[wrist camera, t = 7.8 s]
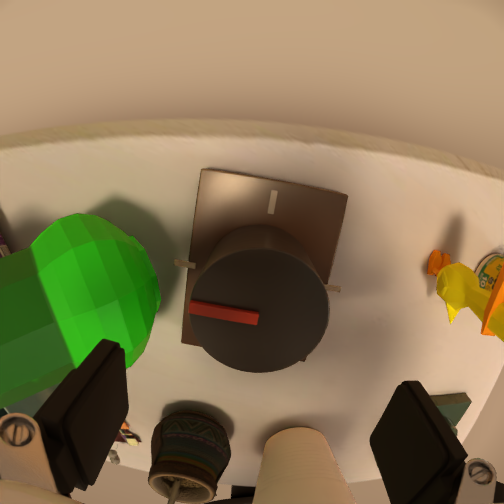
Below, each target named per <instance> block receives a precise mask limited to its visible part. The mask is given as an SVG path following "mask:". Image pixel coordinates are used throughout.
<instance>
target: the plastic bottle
mask: <svg viewBox="0 0 504 504" xmlns="http://www.w3.org/2000/svg"><path fill="white" fill-rule="evenodd" d="M160 302H161V295H160V291H159V286H158V281H157V275H156V273H155V271H154V269H153V266H152V264H151V262H150V260H149V258H148V255H147V253H146V251H145V249H144V248H143V247H142V245H141V244H140V243H139V242H138V241H137V240H136V239H135V238H134V236H133V235H132V236H129V237H128V236H127V235H126V233H125V232H124V231H122V230H121V229H119V228H118V227H116V226H115V225H113V224H112V223H111V222H109V221H107V220H105V219H103V218H101V217H99V216H96V215H87V214H78V213H76V214H73V215H70V216H67V217H64V218H60V219H58V220H56V221H55V222H54V223H53V224H52V225H50V226H49V227H48V228H47V229H45V230H44V231H43V232H42V233H41V234H40V235H39V236H38V237H37V238H36V239H35V241H34V242H33V243H32V244H31V245H30V246H29V247H28V248H26V249H23V250H21V251H18V252H15V253H13V254H10V255H8V256H5V257H2V258H0V409H2V408H4V407H7V406H9V405H11V404H14V403H16V402H18V401H20V400H23V399H25V398H27V397H29V396H32V395H34V394H36V393H38V392H40V391H43V390H45V389H47V388H49V387H51V386H53V385H56V384H58V383H60V382H62V380H63V379H64V378H65V377H66V376H67V374H68V373H69V372H70V371H71V370H72V369H75V368H76V369H77V368H78V366H79V365H80V364H81V363H82V362H83V360H84V359H85V358H86V357H87V356H88V354H89V353H90V352H91V351H92V350H93V349H94V347H95V346H96V345H97V344H98V343H99V342H100V340H102V339H108V340H111V341H115V342H118V343H120V347H121V348H124V350H125V363H126V369H127V368H129V367H131V366H132V365H133V363H134V362H135V361H136V360H137V359H138V358H139V356H140V355H141V354H142V353H143V352H144V349H145V347H146V345H147V342H148V340H149V337H150V333H151V330H152V326H153V322H154V318H155V314H156V312H158V309H159V306H160Z"/></svg>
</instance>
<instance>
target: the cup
mask: <svg viewBox="0 0 504 504" xmlns="http://www.w3.org/2000/svg"><path fill="white" fill-rule="evenodd" d="M252 504H357V503H356V501H355V499H354V497H353V495H352V493H351V491H350V489H349V487H348V486H347V483H346V482H345V479H344V477H343V475H342V473H341V471H340V468H339V467H338V464H337V463H336V460H335V458H334V456H333V454H332V452H331V449H330V447H329V445H328V443H327V441H326V439H325V437H324V435H323V434H322V433H320V432H319V431H317V430H314V429H310V428H305V427H295V428H289V429H285V430H282V431H280V432H278V433H276V434H274V435H273V436H272V437H270V438H269V439H268V440H267V442H266V444H265V448H264V452H263V457H262V462H261V467H260V472H259V476H258V481H257V485H256V490H255V494H254V498H253V503H252Z"/></svg>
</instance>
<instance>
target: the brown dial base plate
mask: <svg viewBox="0 0 504 504" xmlns="http://www.w3.org/2000/svg"><path fill="white" fill-rule="evenodd" d="M347 199H348V195H346V194H343V193H339V192H335V191H330V190H326V189H321V188H316V187H311V186H306V185H301V184H296V183H291V182H286V181H281V180H275V179H270V178H264V177H258V176H252V175H246V174H240V173H234V172H227V171H221V170H214V169H201V173H200V180H199V186H198V193H197V200H196V207H195V215H194V222H193V230H192V238H191V246H190V255H189V262H188V261H182V260H176V259H175V260H174V265H176V266H181V267H187V268H188V273H187V282H186V293H185V303H184V315H183V327H182V340H181V342H182V343H184V344H189V345H194V346H200V347H202V346H201V345H200V343H199V342H198V340H197V339H196V337H195V335H194V332H193V330H192V327H191V324H190V319H189V313H188V311H189V301H190V296H191V293H192V290H193V287H194V285H195V283H196V281H197V279H198V277H199V276H200V274H201V272H202V270H203V268H204V266H205V264H206V262H207V260H208V258H209V256H210V254H211V252H212V250H213V249H214V247H215V246H216V245H217V243H218V242H219V241H220V240H221V239H222V238H223V237H225V236H226V235H227V234H229V233H230V232H232V231H234V230H236V229H238V228H241V227H244V226H249V225H269V226H273V227H277V228H279V229H282V230H284V231H286V232H287V233H289V234H290V235H292V236H293V237H294V238H295V239H296V240H297V241H298V242H299V243H300V244H301V245H302V247H303V248H304V250H305V251H306V253H307V255H308V257H309V259H310V260H311V262H312V264H313V266H314V268H315V269H316V271H317V273H318V275H319V277H320V278H321V280H322V282H323V284H324V286H325V288H326V290H328V291H334V292H340V290H341V287H340V286H334V285H328V281H329V277H330V273H331V269H332V265H333V261H334V257H335V253H336V249H337V245H338V240H339V236H340V232H341V227H342V223H343V218H344V214H345V209H346V204H347ZM306 357H307V356H306ZM306 357H305V358H304V359H302V360H301V361H303V362H305V360H306Z"/></svg>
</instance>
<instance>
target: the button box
mask: <svg viewBox="0 0 504 504" xmlns="http://www.w3.org/2000/svg"><path fill="white" fill-rule="evenodd" d="M430 397H431V399H432V400H433V402H434V403H435V405H436V406H437V408H438V409H439V411H440V412H441V414H442V415H443V417H444V418H445V420H446V421H447V423H448V424H449V426H450V428H451V429H452V431H453V432H454V434H455V435H456V437H457V429H456V427H455V426H456V425H457V424H458V422H459V421H460V419H461V418H462V416H463V415H464V413H465V412H466V410H467V409H468V407H469V406H470V404H471V402H472V401H471V400H470V398H469V397H468V396H467V394H466V393H461V394H451V395H440V396H430ZM375 461H376V459H375ZM376 463H377V462H376ZM377 466H378V465H377Z"/></svg>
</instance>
